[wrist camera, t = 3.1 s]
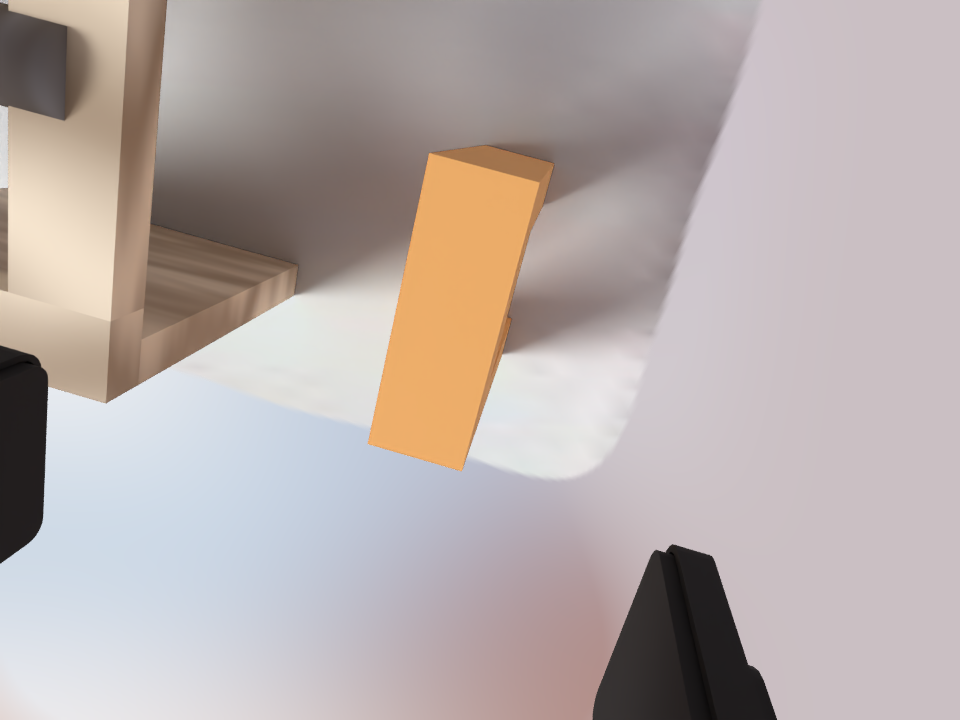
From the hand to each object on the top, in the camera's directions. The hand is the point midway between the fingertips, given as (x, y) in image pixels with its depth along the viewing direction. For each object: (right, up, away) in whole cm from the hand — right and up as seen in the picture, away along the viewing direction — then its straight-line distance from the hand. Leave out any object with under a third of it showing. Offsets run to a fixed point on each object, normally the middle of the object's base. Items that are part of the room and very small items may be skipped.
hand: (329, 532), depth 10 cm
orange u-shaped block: (+3, +7, +20) cm, 21 cm away
